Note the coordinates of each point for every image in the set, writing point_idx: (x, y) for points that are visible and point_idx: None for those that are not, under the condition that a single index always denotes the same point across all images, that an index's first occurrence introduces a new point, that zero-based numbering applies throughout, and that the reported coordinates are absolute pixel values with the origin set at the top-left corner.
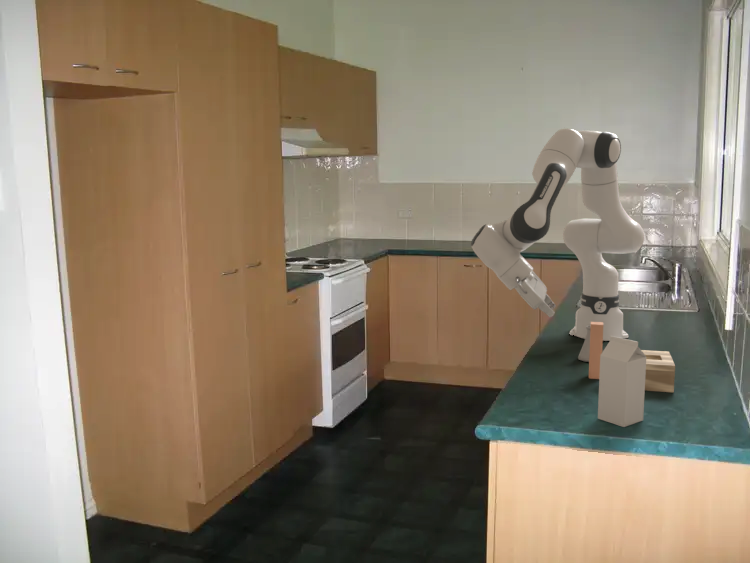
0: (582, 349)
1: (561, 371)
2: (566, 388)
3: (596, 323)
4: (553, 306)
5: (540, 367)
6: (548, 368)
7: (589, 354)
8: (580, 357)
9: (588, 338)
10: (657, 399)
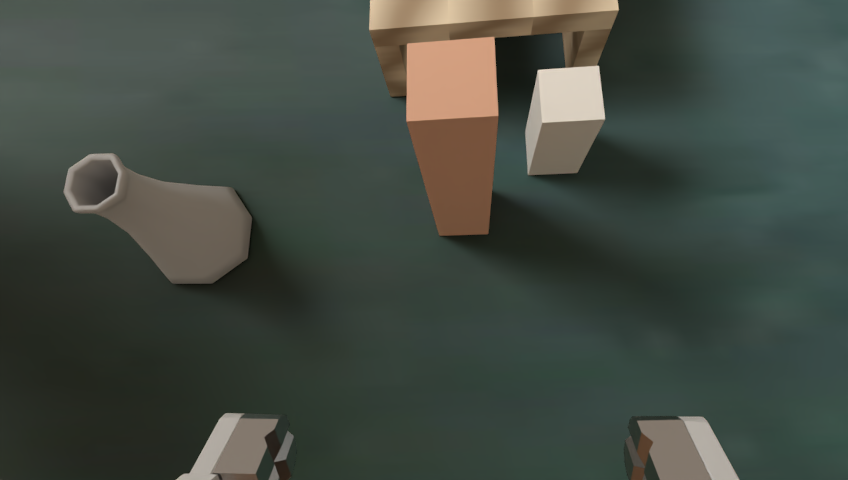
0: (187, 257)
1: (410, 349)
2: (666, 318)
3: (463, 80)
4: (283, 440)
5: (365, 450)
6: (375, 410)
7: (448, 204)
8: (215, 271)
9: (160, 215)
10: (677, 9)
